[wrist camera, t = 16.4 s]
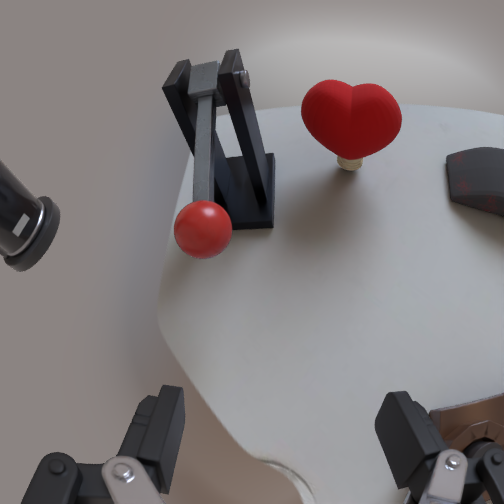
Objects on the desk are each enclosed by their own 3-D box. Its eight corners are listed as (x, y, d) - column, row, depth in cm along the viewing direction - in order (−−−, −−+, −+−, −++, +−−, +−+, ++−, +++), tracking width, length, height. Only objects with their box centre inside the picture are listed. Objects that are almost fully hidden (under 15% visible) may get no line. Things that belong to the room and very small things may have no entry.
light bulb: (301, 186, 30) (290, 103, 21) (311, 141, 33) (304, 66, 24) (391, 198, 27) (409, 116, 18) (391, 151, 30) (401, 76, 21)
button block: (414, 513, 13) (430, 529, 10) (423, 411, 17) (443, 411, 14) (523, 475, 11) (548, 478, 7) (529, 384, 15) (555, 376, 12)
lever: (239, 260, 20) (222, 254, 16) (188, 261, 20) (162, 257, 17) (238, 81, 21) (225, 53, 18) (195, 88, 22) (178, 63, 18)
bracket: (273, 227, 28) (235, 87, 15) (212, 231, 29) (144, 107, 17) (275, 160, 32) (247, 38, 20) (223, 165, 34) (178, 52, 21)
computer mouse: (544, 235, 21) (561, 215, 17) (449, 207, 25) (462, 181, 22) (530, 182, 24) (543, 161, 21) (443, 154, 28) (451, 129, 25)
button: (453, 488, 11) (463, 493, 10) (457, 447, 13) (469, 449, 11) (489, 476, 10) (501, 479, 9) (493, 436, 12) (506, 436, 11)
